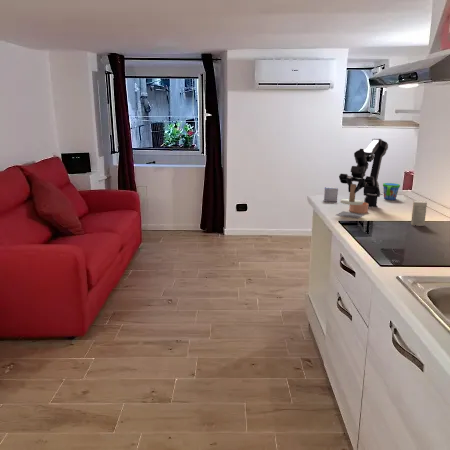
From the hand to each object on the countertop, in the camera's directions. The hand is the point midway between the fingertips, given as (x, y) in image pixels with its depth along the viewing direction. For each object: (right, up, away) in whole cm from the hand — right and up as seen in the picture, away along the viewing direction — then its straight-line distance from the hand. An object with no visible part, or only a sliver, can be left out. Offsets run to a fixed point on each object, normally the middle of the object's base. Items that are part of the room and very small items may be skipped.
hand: (351, 192), depth 237 cm
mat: (0, -13, +4) cm, 13 cm away
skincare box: (+30, -18, -11) cm, 37 cm away
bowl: (+8, -10, +15) cm, 20 cm away
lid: (+1, -5, +3) cm, 6 cm away
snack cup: (+41, -1, +54) cm, 68 cm away
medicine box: (-1, -3, +44) cm, 44 cm away
